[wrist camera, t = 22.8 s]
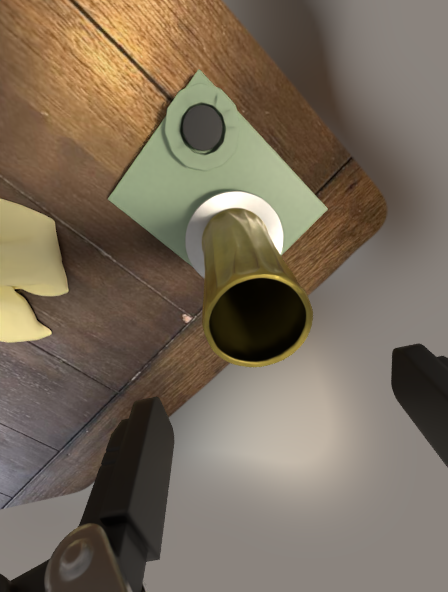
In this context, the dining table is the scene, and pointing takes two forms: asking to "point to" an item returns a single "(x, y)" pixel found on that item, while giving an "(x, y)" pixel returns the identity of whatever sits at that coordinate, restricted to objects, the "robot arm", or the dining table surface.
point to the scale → (209, 173)
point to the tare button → (202, 127)
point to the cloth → (27, 269)
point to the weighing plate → (220, 204)
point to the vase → (250, 293)
